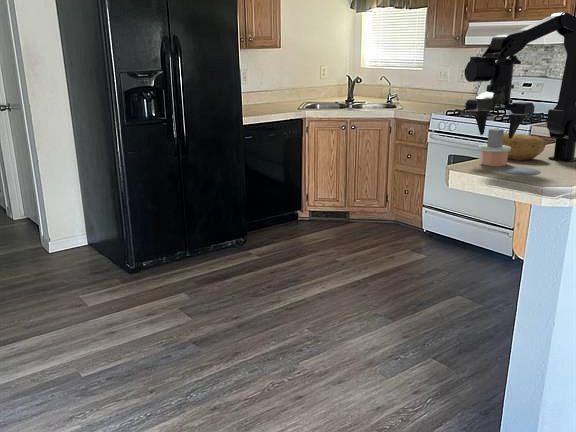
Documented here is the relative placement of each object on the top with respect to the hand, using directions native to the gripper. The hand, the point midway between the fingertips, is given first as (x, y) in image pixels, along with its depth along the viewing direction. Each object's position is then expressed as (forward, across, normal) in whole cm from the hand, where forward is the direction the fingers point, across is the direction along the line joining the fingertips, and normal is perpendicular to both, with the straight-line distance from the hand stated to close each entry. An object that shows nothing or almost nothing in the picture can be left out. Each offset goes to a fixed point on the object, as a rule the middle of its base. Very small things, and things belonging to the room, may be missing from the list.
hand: (495, 136), depth 161 cm
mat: (+8, +10, -4) cm, 14 cm away
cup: (+8, 0, 0) cm, 8 cm away
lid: (+4, 0, 0) cm, 4 cm away
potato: (+9, +1, +12) cm, 15 cm away
